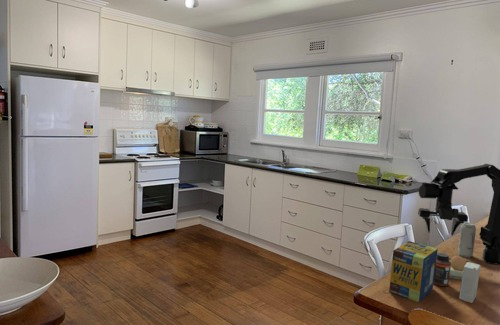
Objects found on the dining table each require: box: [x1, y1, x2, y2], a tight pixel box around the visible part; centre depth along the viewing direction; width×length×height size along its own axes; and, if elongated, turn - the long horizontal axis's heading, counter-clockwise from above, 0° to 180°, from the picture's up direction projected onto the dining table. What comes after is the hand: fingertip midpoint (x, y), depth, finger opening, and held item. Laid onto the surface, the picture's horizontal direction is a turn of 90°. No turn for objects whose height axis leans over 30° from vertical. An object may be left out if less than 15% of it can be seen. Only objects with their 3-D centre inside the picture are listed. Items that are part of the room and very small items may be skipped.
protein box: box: [388, 240, 438, 303], centre depth 136 cm, size 10×15×16 cm
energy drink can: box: [457, 221, 477, 258], centre depth 174 cm, size 6×6×15 cm
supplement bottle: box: [433, 252, 451, 287], centre depth 143 cm, size 6×6×11 cm
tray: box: [449, 260, 480, 283], centre depth 153 cm, size 12×12×3 cm
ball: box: [450, 255, 467, 271], centre depth 153 cm, size 6×6×6 cm
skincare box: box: [458, 262, 481, 304], centre depth 131 cm, size 6×4×12 cm
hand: (440, 233), depth 166 cm, fingers open, 9 cm apart
